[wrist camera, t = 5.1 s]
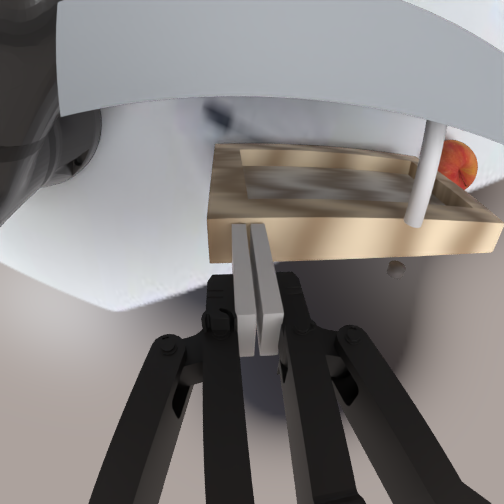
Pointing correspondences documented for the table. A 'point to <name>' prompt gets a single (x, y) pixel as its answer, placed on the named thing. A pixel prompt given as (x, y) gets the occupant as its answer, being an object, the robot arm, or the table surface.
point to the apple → (458, 163)
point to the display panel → (286, 62)
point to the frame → (338, 205)
